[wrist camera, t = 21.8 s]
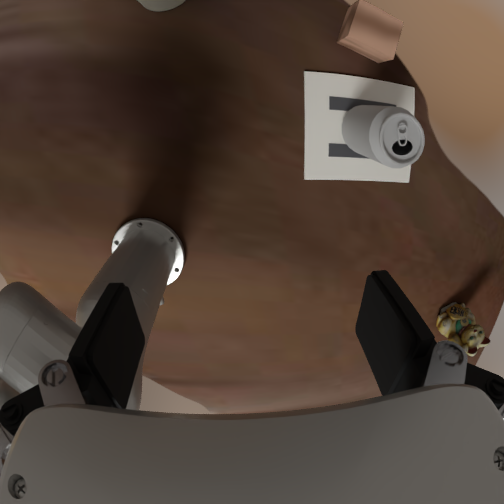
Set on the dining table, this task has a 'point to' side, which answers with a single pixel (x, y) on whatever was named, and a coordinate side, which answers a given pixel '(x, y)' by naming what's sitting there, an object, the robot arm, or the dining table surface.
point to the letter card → (330, 126)
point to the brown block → (370, 32)
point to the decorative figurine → (461, 328)
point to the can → (384, 134)
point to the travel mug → (160, 4)
